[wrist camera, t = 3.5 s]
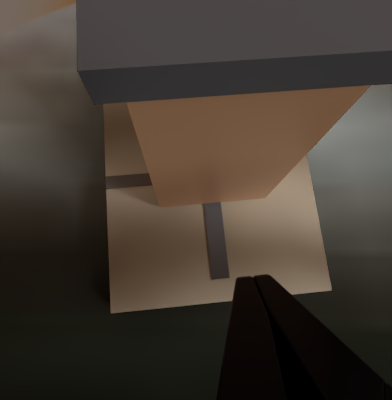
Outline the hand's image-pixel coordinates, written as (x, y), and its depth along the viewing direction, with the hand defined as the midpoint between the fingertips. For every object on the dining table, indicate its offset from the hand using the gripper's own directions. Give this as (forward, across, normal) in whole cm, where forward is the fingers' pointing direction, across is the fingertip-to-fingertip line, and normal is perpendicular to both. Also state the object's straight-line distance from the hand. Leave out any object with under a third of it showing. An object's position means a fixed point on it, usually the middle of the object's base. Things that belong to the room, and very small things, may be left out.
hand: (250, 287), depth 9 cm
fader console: (+11, 0, +1) cm, 11 cm away
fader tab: (+9, 0, +1) cm, 9 cm away
